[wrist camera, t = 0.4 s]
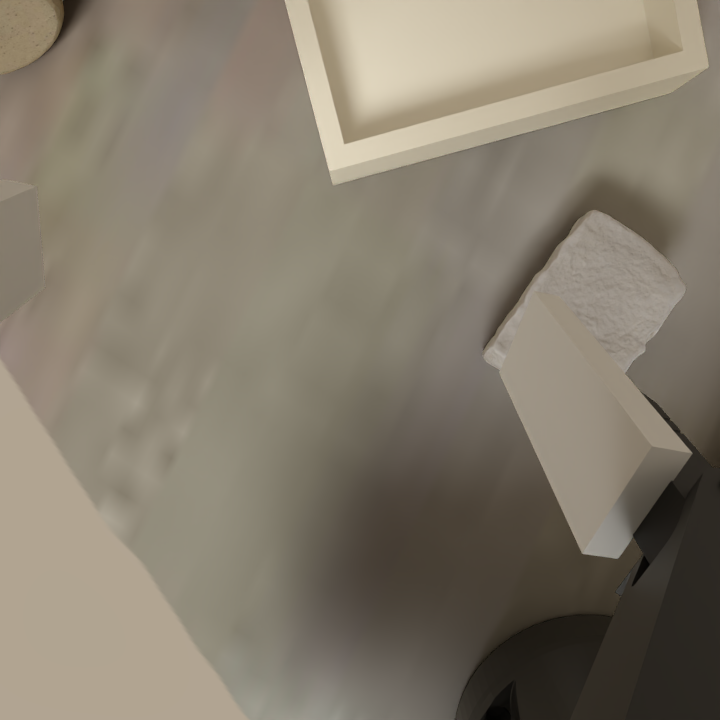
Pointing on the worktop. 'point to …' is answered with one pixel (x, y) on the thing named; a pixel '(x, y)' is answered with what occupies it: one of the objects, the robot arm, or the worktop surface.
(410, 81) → the tray
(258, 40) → the worktop surface
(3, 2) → the ceramic mug
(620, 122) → the worktop surface
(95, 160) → the worktop surface
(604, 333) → the grey rough-textured block
